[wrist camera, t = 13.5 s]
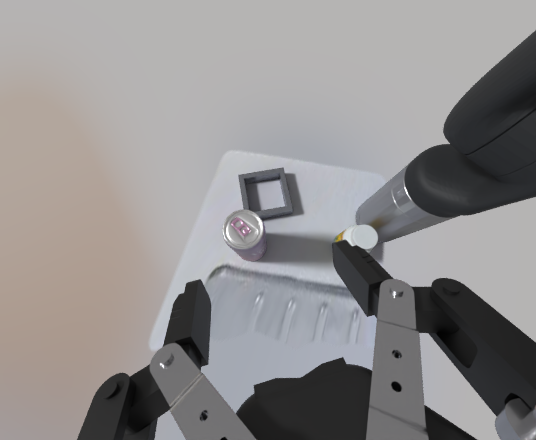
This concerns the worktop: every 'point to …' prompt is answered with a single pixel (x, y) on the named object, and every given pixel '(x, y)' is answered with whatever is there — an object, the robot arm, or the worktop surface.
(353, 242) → the supplement bottle
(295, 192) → the worktop surface
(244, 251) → the beverage can
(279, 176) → the collar
